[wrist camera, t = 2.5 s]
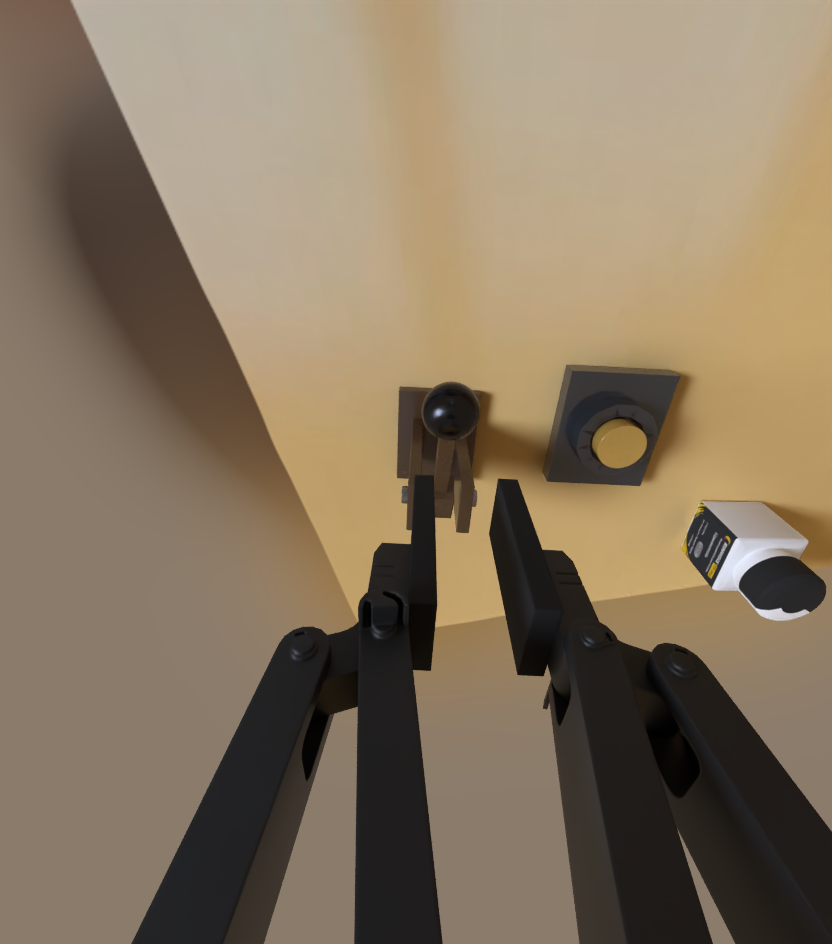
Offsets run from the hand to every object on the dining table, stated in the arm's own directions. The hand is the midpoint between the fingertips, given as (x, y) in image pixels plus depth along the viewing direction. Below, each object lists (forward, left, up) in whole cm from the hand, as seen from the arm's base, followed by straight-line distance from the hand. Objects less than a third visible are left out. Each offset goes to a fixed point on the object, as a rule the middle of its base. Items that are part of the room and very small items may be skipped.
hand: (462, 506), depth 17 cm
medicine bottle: (+19, +34, -27) cm, 47 cm away
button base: (+7, +17, -27) cm, 32 cm away
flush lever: (+4, 0, -14) cm, 14 cm away
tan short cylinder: (+7, +17, -23) cm, 29 cm away
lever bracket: (+9, 0, -27) cm, 28 cm away
